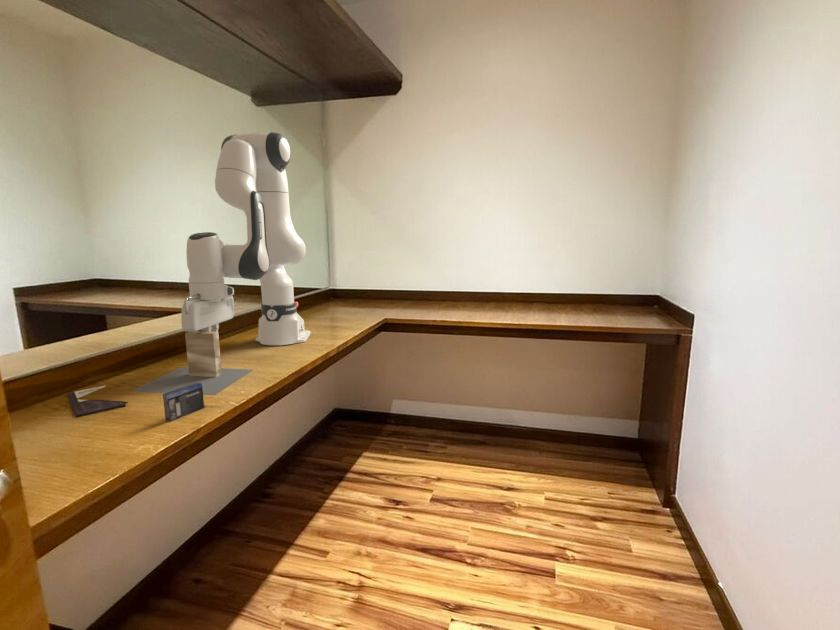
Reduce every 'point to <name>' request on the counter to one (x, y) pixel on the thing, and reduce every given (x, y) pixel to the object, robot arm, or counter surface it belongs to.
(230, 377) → the mat
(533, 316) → the counter surface
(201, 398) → the mini dv tape
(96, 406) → the chocolate bar
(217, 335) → the wooden block
